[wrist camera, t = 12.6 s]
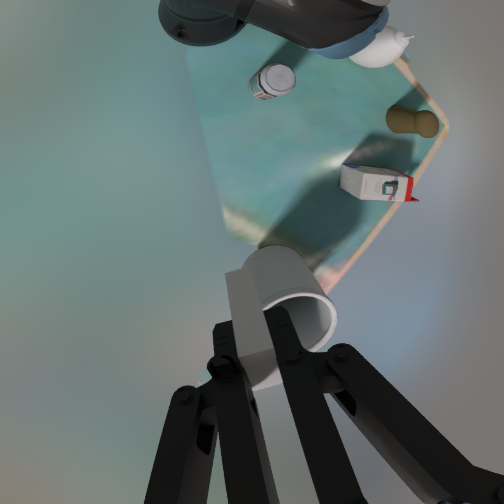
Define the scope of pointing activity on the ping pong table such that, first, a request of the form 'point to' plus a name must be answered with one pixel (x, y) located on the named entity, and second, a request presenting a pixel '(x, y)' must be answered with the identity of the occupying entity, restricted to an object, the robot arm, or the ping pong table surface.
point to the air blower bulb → (383, 49)
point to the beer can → (272, 81)
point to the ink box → (376, 183)
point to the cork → (412, 121)
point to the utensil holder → (293, 293)
